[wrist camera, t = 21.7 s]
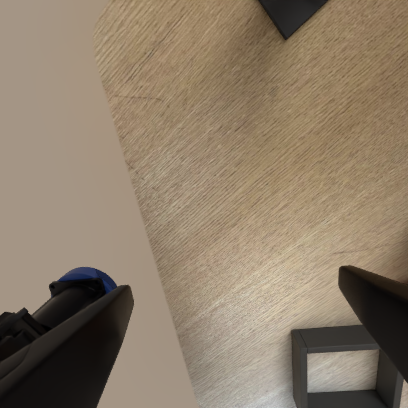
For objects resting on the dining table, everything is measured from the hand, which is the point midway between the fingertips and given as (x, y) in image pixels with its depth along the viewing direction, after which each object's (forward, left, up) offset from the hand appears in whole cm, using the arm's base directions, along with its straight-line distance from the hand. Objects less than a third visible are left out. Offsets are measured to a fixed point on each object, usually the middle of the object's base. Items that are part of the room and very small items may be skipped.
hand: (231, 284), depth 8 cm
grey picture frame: (+13, -22, -13) cm, 29 cm away
